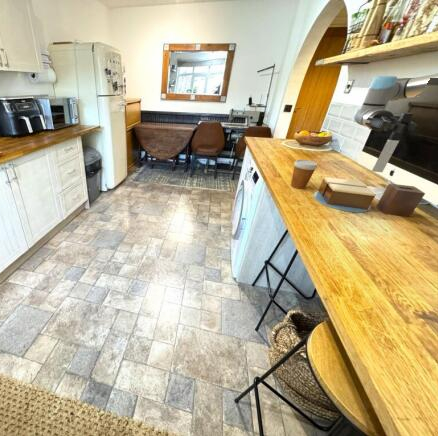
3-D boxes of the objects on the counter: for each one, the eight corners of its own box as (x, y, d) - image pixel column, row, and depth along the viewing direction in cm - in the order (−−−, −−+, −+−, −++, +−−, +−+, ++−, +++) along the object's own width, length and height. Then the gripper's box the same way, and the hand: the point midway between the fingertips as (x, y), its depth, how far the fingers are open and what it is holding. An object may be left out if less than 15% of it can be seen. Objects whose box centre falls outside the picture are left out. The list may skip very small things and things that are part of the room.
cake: (358, 195, 108) (367, 179, 104) (379, 216, 92) (389, 198, 88) (308, 189, 114) (314, 174, 110) (319, 207, 97) (327, 190, 93)
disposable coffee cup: (310, 191, 111) (320, 166, 105) (287, 188, 114) (296, 163, 108) (307, 184, 119) (316, 160, 113) (286, 181, 122) (293, 158, 116)
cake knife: (380, 171, 93) (412, 113, 82) (383, 172, 92) (415, 113, 81) (371, 170, 94) (400, 112, 83) (373, 171, 92) (403, 113, 82)
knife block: (400, 209, 97) (414, 186, 92) (409, 217, 91) (425, 193, 86) (376, 205, 99) (388, 183, 94) (384, 213, 94) (398, 190, 89)
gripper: (395, 130, 99) (431, 143, 80) (351, 127, 103) (375, 139, 84) (406, 110, 95) (446, 119, 76) (359, 108, 99) (386, 116, 80)
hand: (409, 129), depth 80 cm, fingers closed on cake knife, 2 cm apart
